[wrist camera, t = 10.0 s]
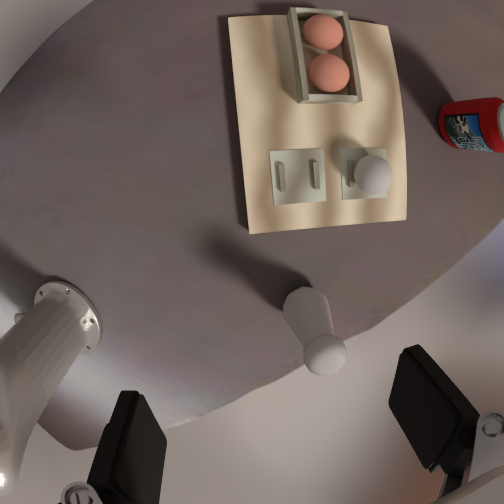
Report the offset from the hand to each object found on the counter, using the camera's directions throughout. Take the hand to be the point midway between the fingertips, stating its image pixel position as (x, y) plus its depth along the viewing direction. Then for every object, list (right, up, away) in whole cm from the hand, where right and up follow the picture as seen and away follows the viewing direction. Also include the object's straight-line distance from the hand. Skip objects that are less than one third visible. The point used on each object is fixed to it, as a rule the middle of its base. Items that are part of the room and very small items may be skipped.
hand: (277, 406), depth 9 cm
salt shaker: (+6, -1, +29) cm, 29 cm away
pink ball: (+7, +30, +17) cm, 35 cm away
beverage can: (+27, +23, +22) cm, 42 cm away
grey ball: (+12, +14, +22) cm, 29 cm away
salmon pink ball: (+7, +25, +18) cm, 32 cm away
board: (+7, +21, +21) cm, 31 cm away
